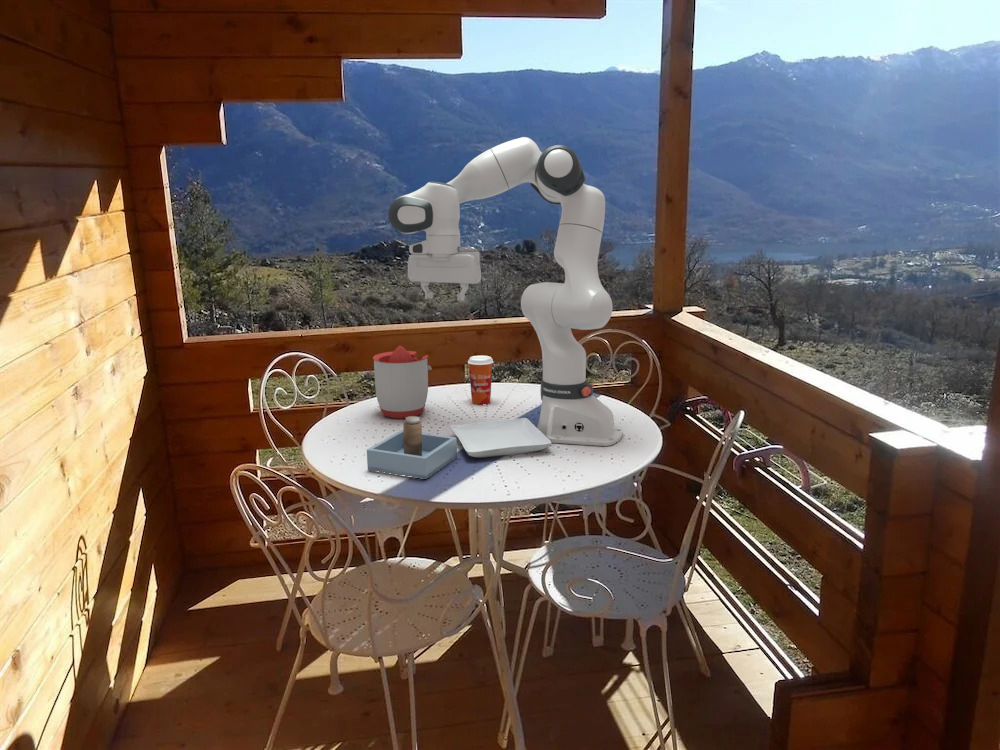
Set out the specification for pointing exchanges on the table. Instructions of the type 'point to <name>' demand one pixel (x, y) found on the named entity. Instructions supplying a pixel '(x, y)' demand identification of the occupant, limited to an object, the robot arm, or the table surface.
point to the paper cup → (480, 379)
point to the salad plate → (500, 437)
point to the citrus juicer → (401, 382)
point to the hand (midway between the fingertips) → (444, 299)
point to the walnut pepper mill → (412, 436)
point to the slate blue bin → (394, 461)
